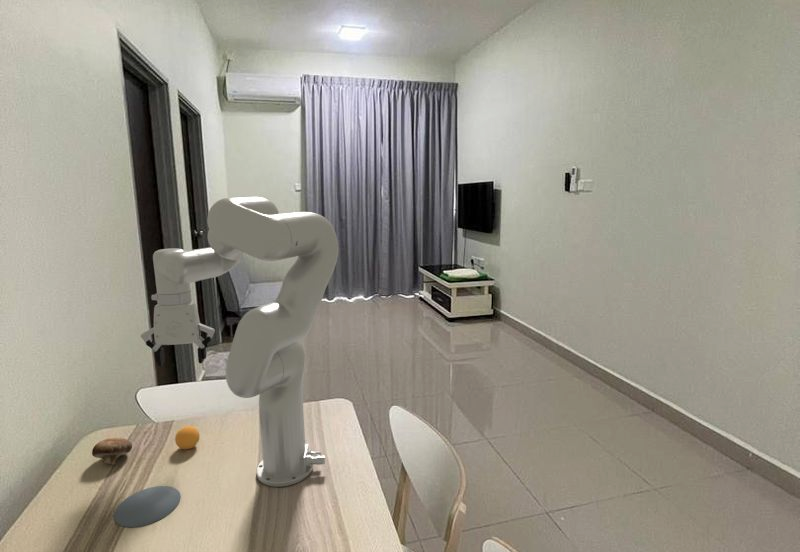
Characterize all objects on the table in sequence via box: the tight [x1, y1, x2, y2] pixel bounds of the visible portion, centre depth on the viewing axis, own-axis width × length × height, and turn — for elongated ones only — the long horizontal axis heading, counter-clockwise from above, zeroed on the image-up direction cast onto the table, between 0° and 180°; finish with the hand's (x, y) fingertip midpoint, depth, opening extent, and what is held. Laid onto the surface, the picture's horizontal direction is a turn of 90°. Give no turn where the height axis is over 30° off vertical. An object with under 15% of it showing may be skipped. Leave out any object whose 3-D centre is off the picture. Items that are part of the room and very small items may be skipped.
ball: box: [175, 425, 200, 450], centre depth 114 cm, size 6×6×6 cm
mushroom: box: [91, 437, 133, 466], centre depth 109 cm, size 8×8×6 cm
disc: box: [113, 485, 182, 528], centre depth 94 cm, size 12×12×1 cm
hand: (181, 362), depth 117 cm, fingers open, 9 cm apart
